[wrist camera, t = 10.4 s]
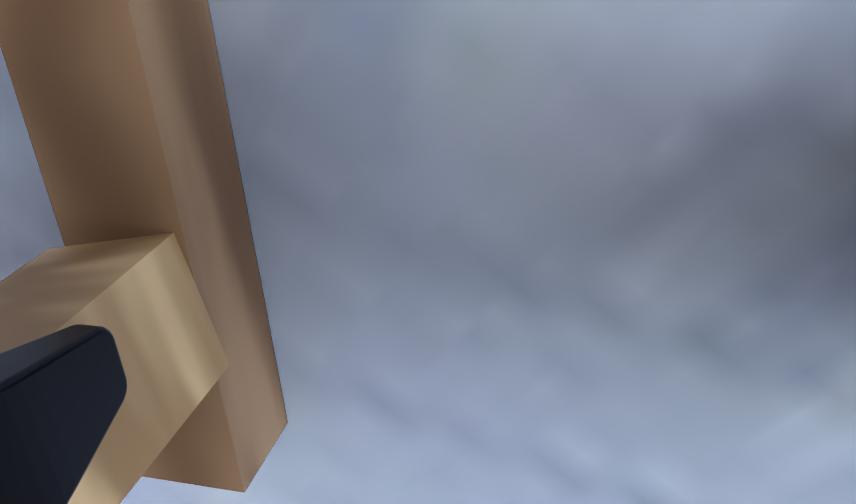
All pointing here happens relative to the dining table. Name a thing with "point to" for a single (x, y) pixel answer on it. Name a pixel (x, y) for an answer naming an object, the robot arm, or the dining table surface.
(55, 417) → the robot arm
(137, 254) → the oak post
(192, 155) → the brown wooden bar
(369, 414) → the dining table surface
